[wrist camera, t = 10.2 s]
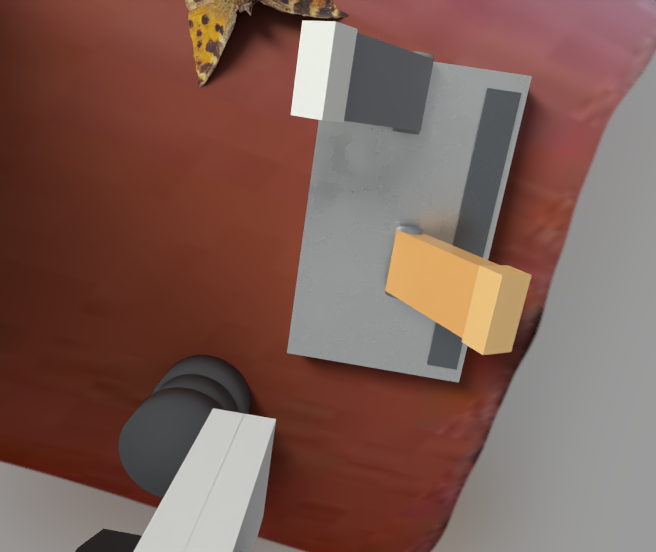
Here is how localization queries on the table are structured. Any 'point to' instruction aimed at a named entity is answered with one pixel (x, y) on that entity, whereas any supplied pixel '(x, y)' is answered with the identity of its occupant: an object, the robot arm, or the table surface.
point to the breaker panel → (401, 219)
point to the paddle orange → (458, 289)
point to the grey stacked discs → (178, 418)
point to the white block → (359, 79)
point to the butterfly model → (221, 11)
